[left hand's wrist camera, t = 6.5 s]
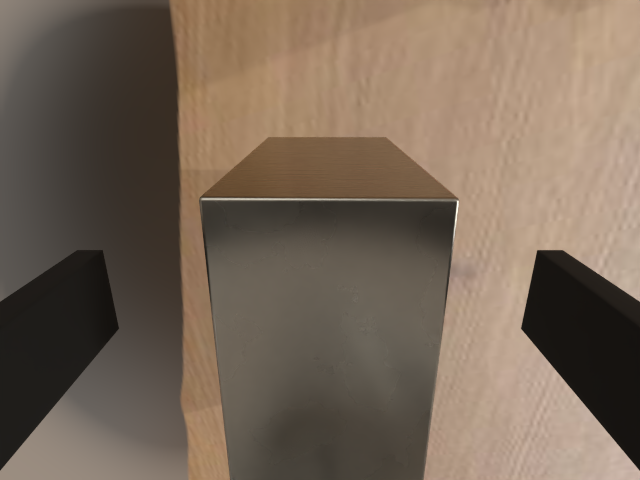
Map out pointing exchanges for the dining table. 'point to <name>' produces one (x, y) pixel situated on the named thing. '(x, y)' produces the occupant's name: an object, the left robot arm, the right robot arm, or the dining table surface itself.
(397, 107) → the dining table surface
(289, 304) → the box
